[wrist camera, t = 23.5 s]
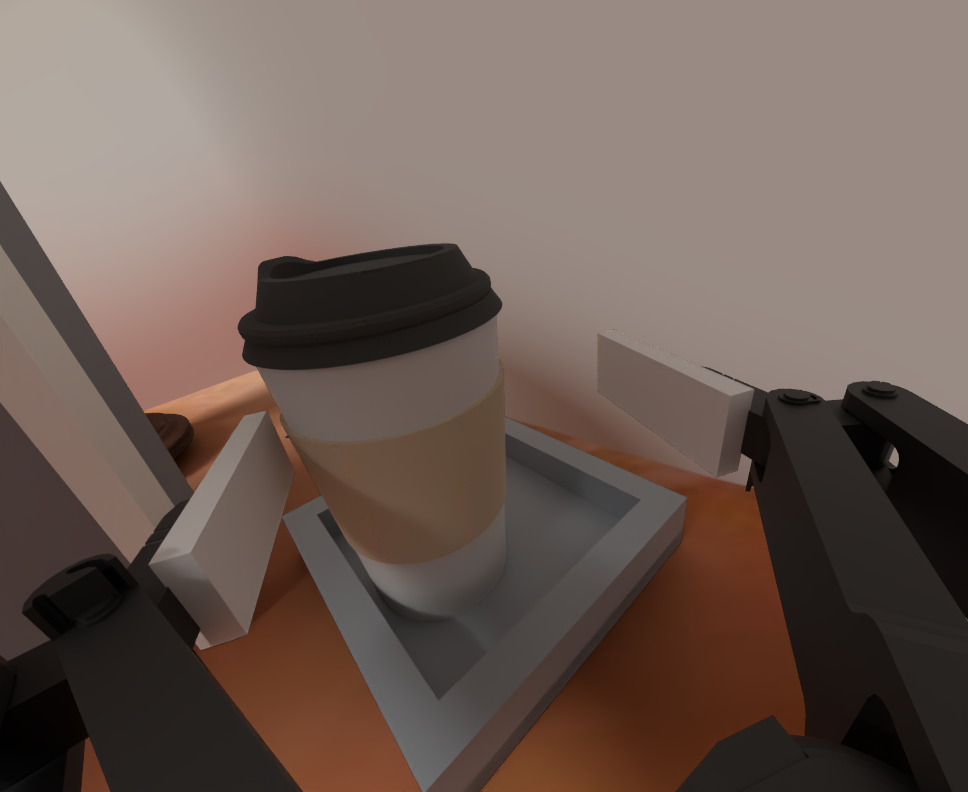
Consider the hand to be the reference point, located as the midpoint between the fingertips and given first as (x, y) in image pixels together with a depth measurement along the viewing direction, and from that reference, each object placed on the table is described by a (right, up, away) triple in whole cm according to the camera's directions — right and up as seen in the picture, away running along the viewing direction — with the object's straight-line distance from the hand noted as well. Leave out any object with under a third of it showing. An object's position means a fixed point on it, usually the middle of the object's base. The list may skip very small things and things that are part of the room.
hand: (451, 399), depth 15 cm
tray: (+1, -8, +6) cm, 10 cm away
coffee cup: (-1, -8, +5) cm, 9 cm away
